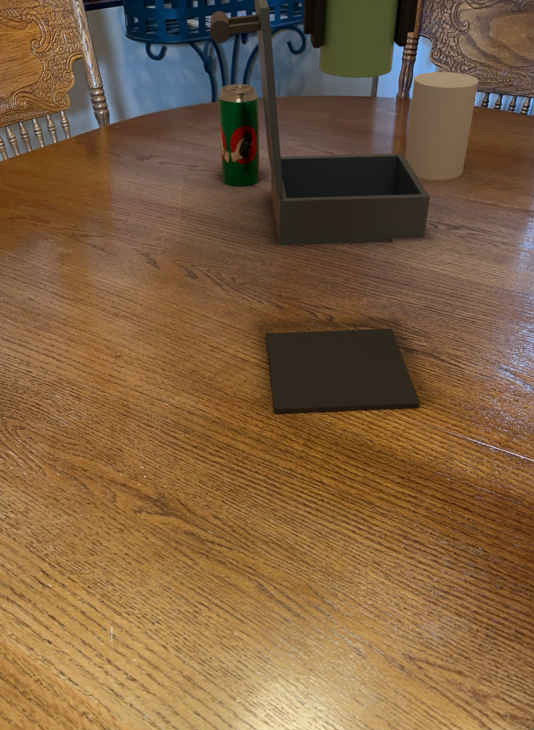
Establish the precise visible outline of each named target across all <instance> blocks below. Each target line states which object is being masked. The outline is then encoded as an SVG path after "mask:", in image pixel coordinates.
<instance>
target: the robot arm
mask: <svg viewBox="0 0 534 730" xmlns="http://www.w3.org/2000/svg"><path fill="white" fill-rule="evenodd" d="M324 4H325V0H303V24H302V25H303V28H302V29H303V30H302V31H303V34H304V35H310V43H311V45H312V47H313V49H320V46H323V28H324ZM418 5H419V0H399V1H398V11H397V21H396V30H395V40H394V44H395V45H396V46H398V48H406V47H407V45H408V37H409V36H408V35H409V33H410V34H412V33H413V34H414V33H415V29H416V24H417V15H418Z"/></svg>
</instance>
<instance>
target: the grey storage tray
mask: <svg viewBox="0 0 534 730" xmlns="http://www.w3.org/2000/svg"><path fill="white" fill-rule="evenodd" d="M281 168H282V181H283V194H284V195H283V196H279V197H277V196H276V192H275V187H274V181H273V176H272V171H271V170H270V171H271V172H270V175H271V176H270V179H271V180H270V181H271V182H270V183H271V185H270V189H271V190H270V191H271V192H270V193H271V196H270V197H271V198H270V199H271V204H272V209H273V214H274V215H273V216H274V220H275V226H276V231H277V232H276V233H277V238H278V243H279V244H278V245H279V246H303V245H335V244H339V245H340V244H366V243H393V240H392V239H418V238H419V239H421V238H425V234H426V233H425V232H426V226H427V219H428V212H429V205H430V200H431V196H430V194H429V193H428V192H427V190H426V189H425V186H424V185H423V184H422V182H421V180H420V178H418V177H417V176H416V174H415V172H414V171H413V169H412V168H411V166H410V164H409V163H408V161H407V160H406V158H405V155H404V153H369V154H368V153H367V154H333V155H332V154H330V155H298V156H297V155H296V156H292V155H291V156H290V155H289V156H281Z"/></svg>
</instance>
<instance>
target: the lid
mask: <svg viewBox="0 0 534 730" xmlns="http://www.w3.org/2000/svg"><path fill="white" fill-rule="evenodd" d="M254 9H255V10H254V11H255V14H248V15H239V16H232V17H231V16H230V17H229V16H228V14H227V13H226V12H224V11H222V10H217V11H215V12H214V13H212V14H211V17H210V19H209V34H210V36H211V37H210V38H212V40H213V41H214V42H215V43H217V44H224V43H226V42H227V41H228V40H229V38H230V36H231V35H235V34H245V33H252V32H257V42H258V43H257V45H258V55H259V66H260V77H261V88H262V99H263V112H264V123H265V134H266V145H267V147H266V148H267V155H268V160H269V165H270V171H272V176H273V181H274V187H275V192H276V196H277V197H279V196H283V195H284V194H283V181H282V168H281V157H282V156H281V144H280V143H281V141H280V131H279V129H280V128H279V118H278V104H277V92H276V79H275V67H274V53H273V39H272V27H271V13H270V12H271V11H270V6H269V4H268V1H267V0H254Z"/></svg>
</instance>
